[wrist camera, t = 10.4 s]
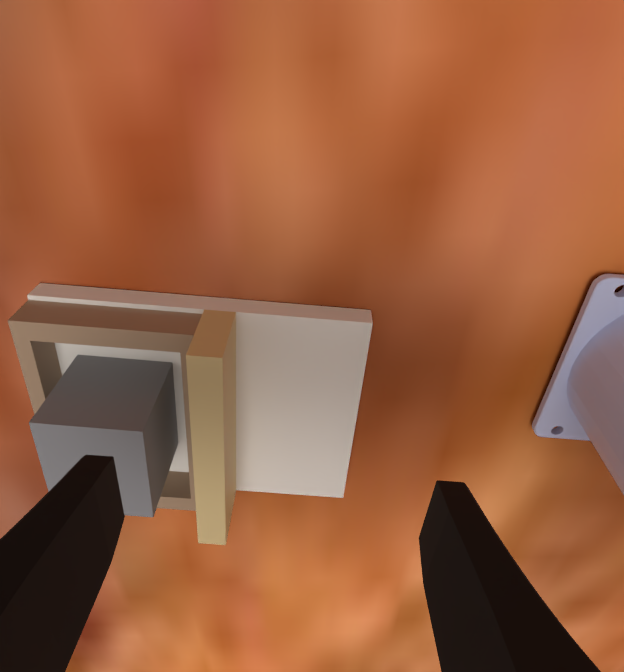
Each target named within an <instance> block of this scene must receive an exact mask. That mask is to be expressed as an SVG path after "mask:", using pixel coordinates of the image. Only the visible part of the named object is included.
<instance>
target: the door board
mask: <svg viewBox="0 0 624 672" xmlns="http://www.w3.org/2000/svg"><path fill="white" fill-rule="evenodd" d="M27 296H28V301H27V302H26V303H25V304H24V305H23V306H22V307H21V308H20V309H19V310H18V311H17V312H16V313H15V314H14V315H13V316H12V317H11V318H10V319H9V320H8V323H9V327H10V330H11V334H12V337H13V341H14V344H15V348H16V351H17V355H18V358H19V362H20V365H21V369H22V372H23V376H24V379H25V383H26V386H27V390H28V393H29V397H30V400H31V404H32V407H33V411H34V414H35V413H36V412H37V411H38V409H39V408H40V406H41V405H42V404H43V402H44V401H45V399H46V398H47V397H48V395H49V394H50V392H51V391H52V390H53V388H54V387H55V385H56V384H57V383H58V381H59V380H60V378H61V377H62V376H63V374H64V373H65V371H66V370H67V369H68V367H69V366H70V364H71V363H72V362H73V360H74V359H75V357H76V356H77V355H90V356H102V357H114V358H126V359H137V360H149V361H161V362H172V363H173V377H174V390H175V403H176V417H177V430H178V446H177V449H176V452H175V455H174V458H173V461H172V463H171V466H170V469H169V472H168V475H167V478H166V481H165V484H164V487H163V490H162V493H161V496H160V499H159V502H158V505H157V508H165V509H179V510H193V511H196V517H197V532H198V543H204V544H219V545H226V542H227V536H228V531H229V526H230V520H231V515H232V509H233V504H234V499H235V493H236V490H242V491H256V492H270V493H284V494H297V495H311V496H325V497H339V498H343V495H344V489H345V483H346V477H347V472H348V466H349V460H350V454H351V448H352V442H353V436H354V431H355V425H356V419H357V413H358V407H359V401H360V395H361V390H362V384H363V378H364V372H365V366H366V360H367V354H368V349H369V343H370V337H371V331H372V325H373V321H372V314H371V310H365V309H353V308H340V307H328V306H316V305H304V304H292V303H279V302H267V301H255V300H243V299H230V298H218V297H206V296H194V295H182V294H169V293H157V292H145V291H133V290H120V289H108V288H96V287H84V286H72V285H59V284H47V283H39V284H38V285H37V286H36V287H35V288H34V289H33V290H32V291H31V292H30V293H29V294H28V295H27Z"/></svg>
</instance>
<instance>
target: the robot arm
mask: <svg viewBox="0 0 624 672" xmlns="http://www.w3.org/2000/svg"><path fill="white" fill-rule="evenodd" d="M620 285H624V275H619V274H603V275H601V276H598V277H597V278H596V279H595V280H594V281H593V282H592V284H591V286H590V288H589V291H588V293H587V295H586V298H585V300H584V302H583V305H582V307H581V310H580V312H579V314H578V317H577V319H576V321H575V324H574V326H573V328H572V331H571V333H570V336H569V338H568V340H567V343H566V345H565V347H564V350H563V352H562V354H561V357H560V359H559V362H558V364H557V366H556V369H555V371H554V373H553V376H552V378H551V380H550V383H549V385H548V387H547V390H546V392H545V395H544V397H543V399H542V402H541V404H540V406H539V409H538V411H537V413H536V416H535V418H534V421H533V423H532V428H533V430H534V432H535V434H536V435H537V436H540V437H548V438H561V439H574V440H588V441H591V442H592V444H593V446H594V447H595V449H596V451H597V452H598V454H599V456H600V457H601V459H602V460H603V462H604V464H605V465H606V467H607V469H608V470H609V472H610V474H611V475H612V477H613V479H614V480H615V482H616V484H617V485H618V487H619V488H620V490H621V492H622V493H623V495H624V287H623V288H622V290H620V291H618V292H614V291H615V289H616V288H617V287H619V286H620ZM556 426H558V427H557V428H554V427H556ZM552 428H553V429H552ZM124 517H125V516H124V510H123V505H122V500H121V494H120V489H119V483H118V478H117V473H116V467H115V462H114V457H113V456H99V455H85V456H83V457H82V458H81V459H80V460H79V461H78V462H77V463H76V464H75V465H74V466H73V467H72V468H71V469H70V470H69V471H68V472H67V473H66V474H65V476H64V477H63V478H62V479H61V480H60V481H59V482H58V483H57V484H56V485H55V486H54V487H53V488H52V489H51V490H50V491H49V492H48V493H47V494H46V495H45V496H44V497H43V498H42V499H41V500H40V501H39V502H38V503H37V504H36V505H35V506H34V507H33V508H32V509H31V510H30V511H29V512H28V513H27V514H26V515H25V516H24V517H23V518H22V519H21V520H20V521H19V522H18V523H17V524H16V525H15V526H14V527H13V528H11V529H10V530H9V531H8V532H7V533H6V534H5V535H4V536H3V537H2V538H1V539H0V672H65V671H66V668H67V666H68V663H69V661H70V659H71V656H72V654H73V652H74V649H75V647H76V645H77V642H78V640H79V638H80V635H81V633H82V630H83V628H84V626H85V623H86V621H87V619H88V616H89V614H90V612H91V609H92V607H93V605H94V602H95V600H96V598H97V595H98V593H99V590H100V588H101V586H102V583H103V581H104V579H105V576H106V574H107V571H108V569H109V566H110V564H111V561H112V558H113V555H114V551H115V548H116V545H117V542H118V538H119V535H120V531H121V528H122V524H123V521H124ZM419 543H420V554H421V565H422V575H423V584H424V589H425V594H426V599H427V604H428V609H429V614H430V619H431V623H432V628H433V633H434V638H435V642H436V647H437V652H438V657H439V661H440V666H441V671H442V672H601V671H600V670H599V669H598V668H597V667H596V666H595V664H594V663H593V662H592V661H591V660H590V659H589V657H588V656H587V655H586V654H585V653H584V652H583V650H582V649H581V648H580V647H579V646H578V644H577V643H576V642H575V641H574V639H573V638H572V637H571V636H570V635H569V633H568V632H567V631H566V629H565V628H564V627H563V626H562V624H561V623H560V622H559V621H558V619H557V618H556V617H555V615H554V614H553V613H552V611H551V610H550V609H549V608H548V606H547V605H546V604H545V602H544V601H543V600H542V598H541V597H540V596H539V594H538V593H537V591H536V590H535V589H534V587H533V586H532V585H531V583H530V582H529V580H528V579H527V578H526V576H525V575H524V573H523V572H522V570H521V569H520V567H519V566H518V565H517V563H516V562H515V560H514V559H513V557H512V556H511V555H510V553H509V552H508V550H507V549H506V547H505V546H504V544H503V543H502V541H501V540H500V538H499V536H498V535H497V533H496V532H495V530H494V529H493V527H492V526H491V524H490V522H489V521H488V519H487V518H486V516H485V515H484V513H483V511H482V510H481V508H480V506H479V505H478V503H477V502H476V500H475V498H474V497H473V495H472V493H471V492H470V490H469V488H468V487H467V486H466V484H465V483H464V482H451V481H437V482H436V485H435V488H434V491H433V494H432V498H431V501H430V504H429V507H428V510H427V514H426V517H425V520H424V523H423V526H422V530H421V533H420V536H419Z"/></svg>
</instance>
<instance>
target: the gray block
mask: <svg viewBox="0 0 624 672" xmlns="http://www.w3.org/2000/svg"><path fill="white" fill-rule="evenodd" d="M29 425H30V428H31V431H32V435H33V438H34V442H35V445H36V449H37V452H38V456H39V459H40V463H41V466H42V470H43V473H44V477H45V480H46V484H47V487H48V491H50V490H51V489H52V488H53V487H54V486H55V485H56V484H57V483H58V482H59V481H60V480H61V479H62V478H63V477H64V476H65V474H66V473H67V472H68V471H69V470H70V469H71V468H72V467H73V466H74V465H75V464H76V463H77V462H78V461H79V460H80V459H81V458H82V457H83V456H85V455H99V456H113V457H114V462H115V467H116V473H117V478H118V483H119V489H120V494H121V500H122V505H123V510H124V515H130V516H143V517H154V514H155V511H156V508H157V505H158V502H159V499H160V496H161V493H162V490H163V487H164V484H165V481H166V478H167V475H168V472H169V469H170V466H171V463H172V461H173V458H174V455H175V452H176V449H177V446H178V430H177V417H176V403H175V390H174V377H173V363H172V362H161V361H149V360H137V359H126V358H114V357H102V356H90V355H77V356H76V357H75V359H74V360H73V362H72V363H71V364H70V366H69V367H68V369H67V370H66V371H65V373H64V374H63V376H62V377H61V378H60V380H59V381H58V383H57V384H56V385H55V387H54V388H53V390H52V391H51V392H50V394H49V395H48V397H47V398H46V399H45V401H44V402H43V404H42V405H41V406H40V408H39V409H38V411H37V412H36V413H35V415H34V416H33V418H32V419H31V420H30V422H29Z"/></svg>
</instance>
